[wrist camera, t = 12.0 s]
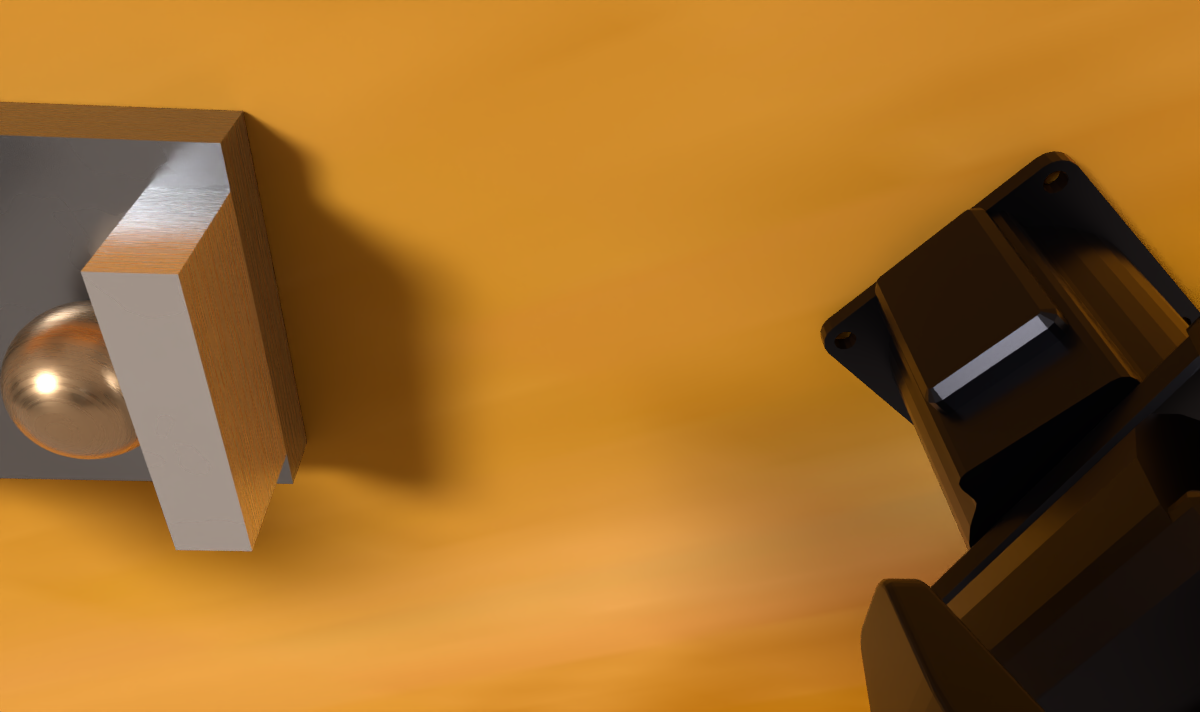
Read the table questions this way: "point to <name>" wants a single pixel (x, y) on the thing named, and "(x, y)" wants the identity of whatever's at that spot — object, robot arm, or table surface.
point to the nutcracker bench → (82, 213)
